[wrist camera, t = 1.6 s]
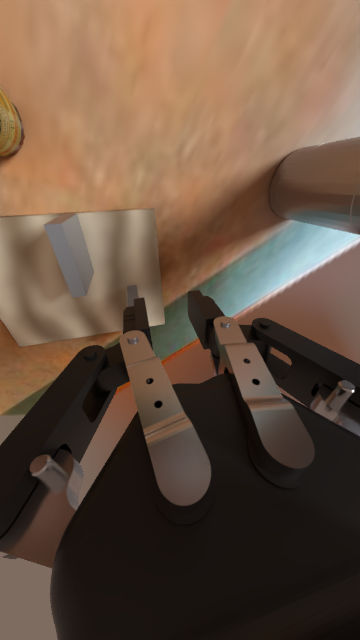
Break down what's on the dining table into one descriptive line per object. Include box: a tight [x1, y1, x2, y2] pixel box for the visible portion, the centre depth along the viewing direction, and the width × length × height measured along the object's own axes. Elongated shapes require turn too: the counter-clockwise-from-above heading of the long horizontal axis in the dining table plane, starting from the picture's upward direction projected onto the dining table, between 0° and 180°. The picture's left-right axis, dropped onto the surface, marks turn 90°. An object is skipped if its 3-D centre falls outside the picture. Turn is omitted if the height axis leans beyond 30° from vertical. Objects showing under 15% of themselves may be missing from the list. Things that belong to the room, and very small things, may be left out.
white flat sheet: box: [0, 208, 165, 347], centre depth 31 cm, size 26×20×2 cm
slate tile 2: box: [127, 285, 139, 307], centre depth 32 cm, size 2×8×8 cm, turn 2°
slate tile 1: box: [44, 213, 94, 298], centre depth 24 cm, size 2×8×8 cm, turn 2°
